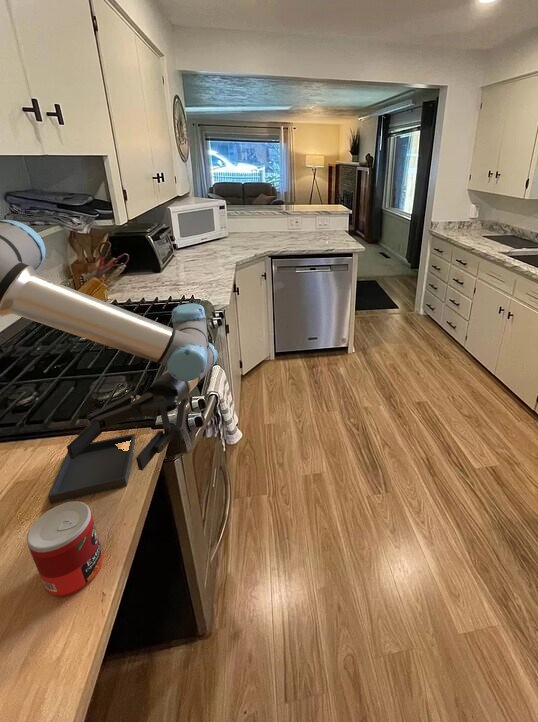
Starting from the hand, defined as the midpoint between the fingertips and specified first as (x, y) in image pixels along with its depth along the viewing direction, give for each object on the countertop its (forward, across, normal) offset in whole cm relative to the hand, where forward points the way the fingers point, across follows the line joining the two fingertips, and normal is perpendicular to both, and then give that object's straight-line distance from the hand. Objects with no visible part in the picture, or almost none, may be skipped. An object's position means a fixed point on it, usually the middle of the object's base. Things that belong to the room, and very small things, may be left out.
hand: (103, 458), depth 62 cm
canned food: (+10, 0, -14) cm, 17 cm away
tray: (-9, +12, -14) cm, 20 cm away
